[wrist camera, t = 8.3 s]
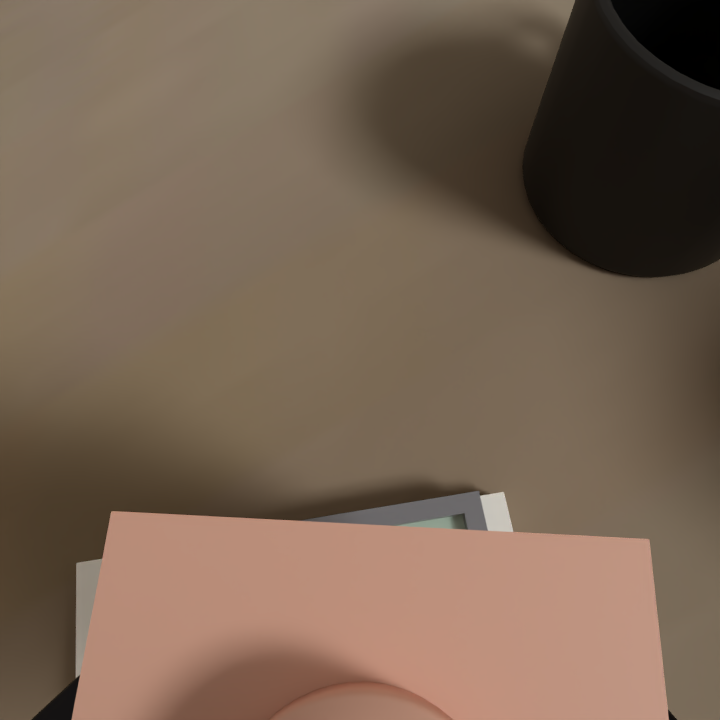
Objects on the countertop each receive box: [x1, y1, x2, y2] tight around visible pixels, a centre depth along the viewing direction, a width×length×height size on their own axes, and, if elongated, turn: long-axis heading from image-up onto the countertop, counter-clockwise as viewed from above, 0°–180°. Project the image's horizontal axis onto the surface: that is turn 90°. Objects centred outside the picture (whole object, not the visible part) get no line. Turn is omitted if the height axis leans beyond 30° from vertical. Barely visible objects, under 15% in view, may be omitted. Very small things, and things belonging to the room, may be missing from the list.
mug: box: [523, 0, 720, 277], centre depth 21 cm, size 9×12×9 cm
